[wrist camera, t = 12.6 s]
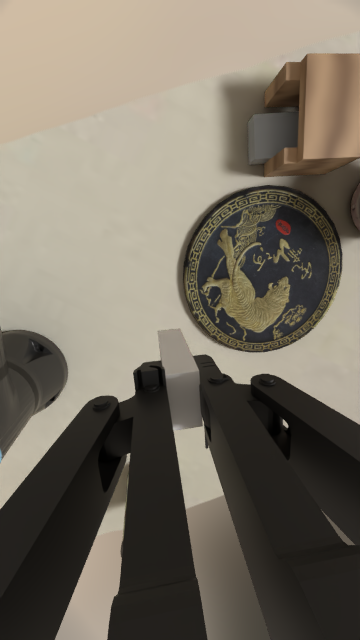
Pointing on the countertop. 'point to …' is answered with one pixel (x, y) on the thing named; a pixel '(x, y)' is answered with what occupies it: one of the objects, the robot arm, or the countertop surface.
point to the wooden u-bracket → (318, 113)
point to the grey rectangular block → (271, 135)
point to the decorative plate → (262, 268)
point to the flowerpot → (356, 207)
